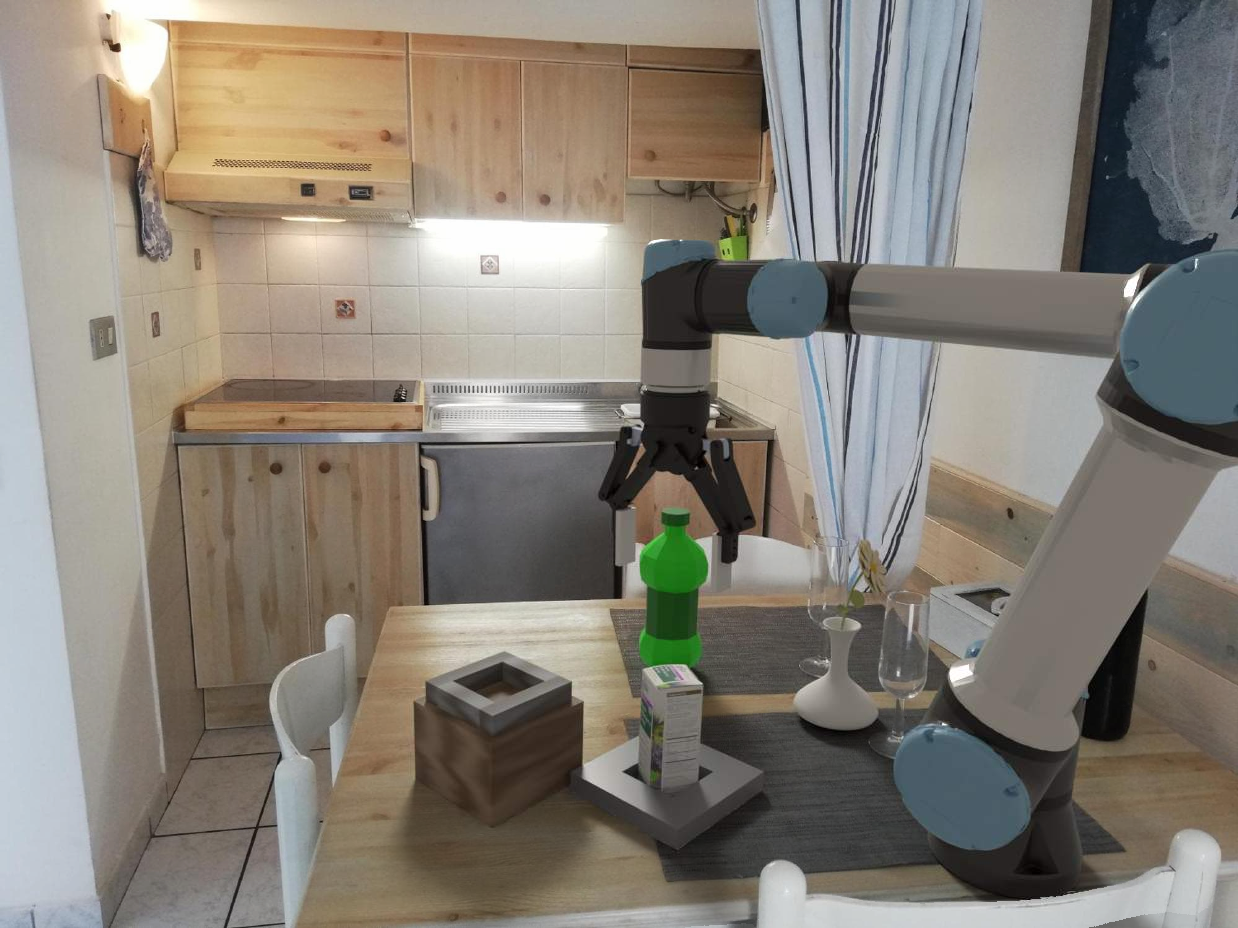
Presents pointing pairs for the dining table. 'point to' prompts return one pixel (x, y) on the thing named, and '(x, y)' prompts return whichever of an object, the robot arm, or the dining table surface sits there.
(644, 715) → the syrup box
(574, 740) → the raised socket
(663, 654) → the plastic bottle
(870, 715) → the flower in vase
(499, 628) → the dining table surface
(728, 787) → the low socket block
